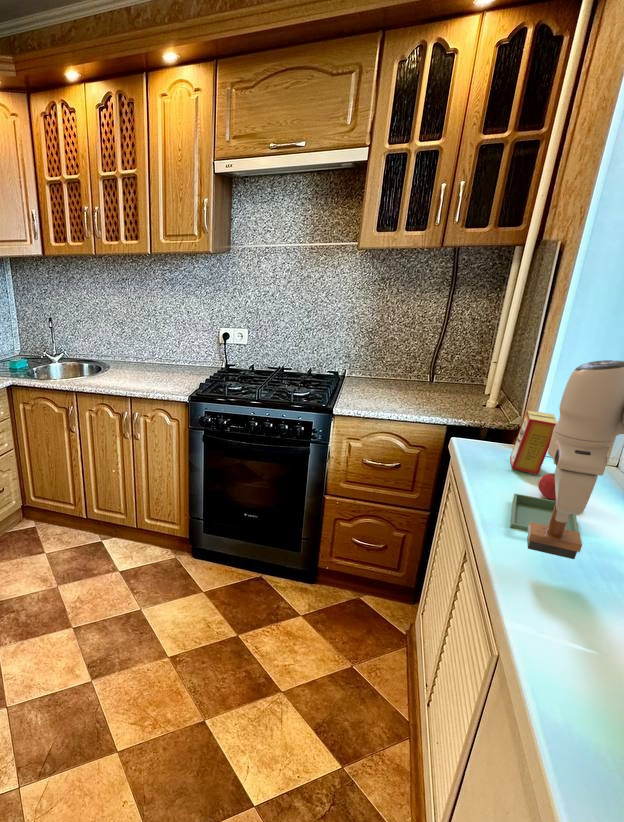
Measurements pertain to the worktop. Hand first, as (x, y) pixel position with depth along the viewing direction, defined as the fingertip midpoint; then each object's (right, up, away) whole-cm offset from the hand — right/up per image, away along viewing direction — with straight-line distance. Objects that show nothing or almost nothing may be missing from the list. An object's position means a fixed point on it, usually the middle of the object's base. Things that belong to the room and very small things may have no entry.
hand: (560, 516), depth 101 cm
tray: (+14, -5, +23) cm, 28 cm away
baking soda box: (+33, +8, +56) cm, 65 cm away
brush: (0, -7, +3) cm, 7 cm away
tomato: (+27, 0, +36) cm, 45 cm away
